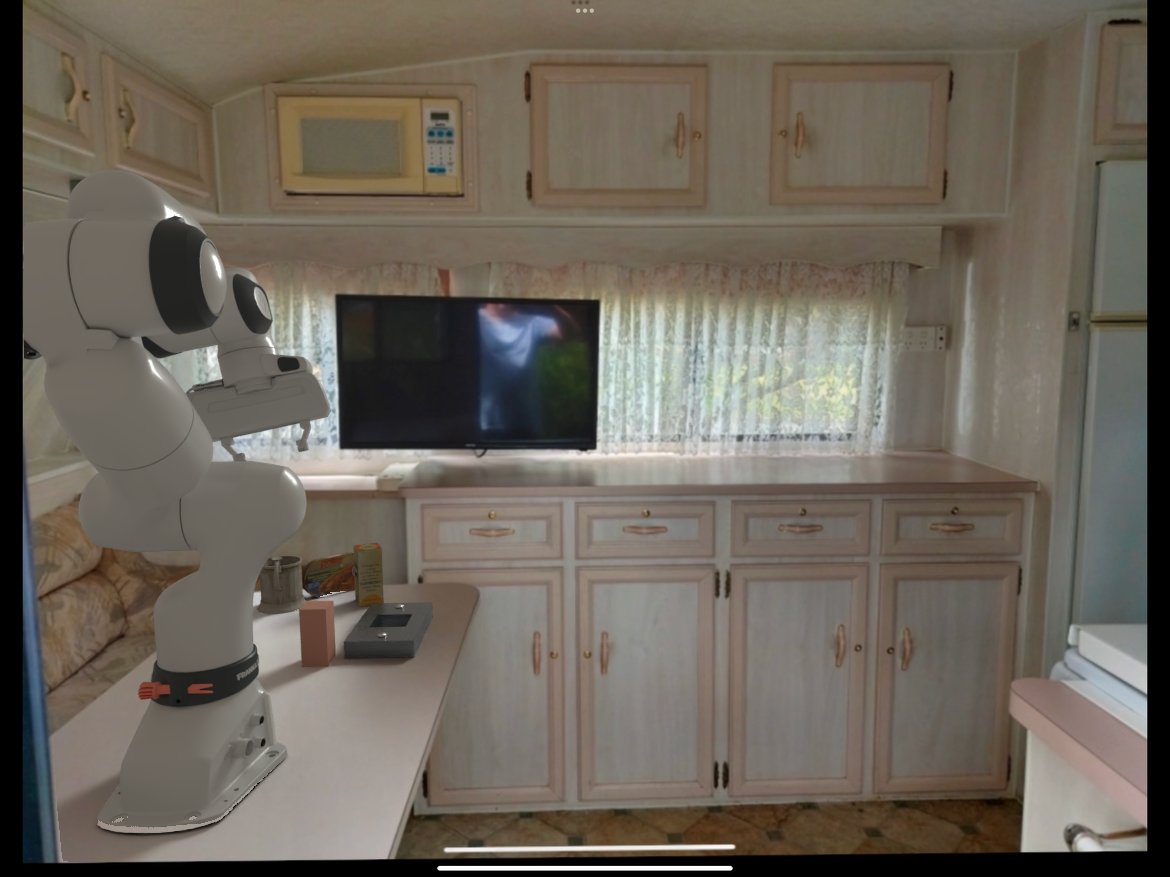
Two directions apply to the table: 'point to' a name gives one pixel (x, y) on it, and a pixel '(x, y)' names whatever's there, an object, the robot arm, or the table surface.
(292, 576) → the mug
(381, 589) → the shoe polish box
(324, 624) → the square peg
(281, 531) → the robot arm
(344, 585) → the tin
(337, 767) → the table surface
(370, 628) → the block with square hole
